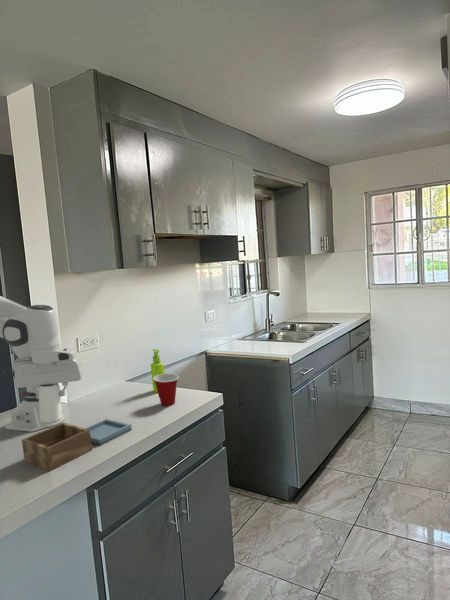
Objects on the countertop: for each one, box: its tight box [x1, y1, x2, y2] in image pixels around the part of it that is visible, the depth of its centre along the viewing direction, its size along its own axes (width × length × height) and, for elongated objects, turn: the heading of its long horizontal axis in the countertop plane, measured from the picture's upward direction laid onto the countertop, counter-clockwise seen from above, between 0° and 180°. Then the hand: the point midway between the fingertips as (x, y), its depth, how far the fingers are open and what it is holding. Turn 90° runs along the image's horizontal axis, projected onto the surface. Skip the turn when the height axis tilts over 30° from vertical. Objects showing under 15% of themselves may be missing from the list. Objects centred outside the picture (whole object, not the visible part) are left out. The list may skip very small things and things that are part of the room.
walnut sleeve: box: [21, 422, 93, 472], centre depth 133 cm, size 15×15×7 cm
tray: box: [84, 418, 132, 446], centre depth 148 cm, size 14×14×2 cm
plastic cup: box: [153, 373, 180, 407], centre depth 174 cm, size 11×11×12 cm
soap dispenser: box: [150, 348, 165, 393], centre depth 193 cm, size 6×7×20 cm
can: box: [39, 383, 62, 423], centre depth 132 cm, size 6×6×12 cm
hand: (51, 397), depth 132 cm, fingers closed on can, 6 cm apart
